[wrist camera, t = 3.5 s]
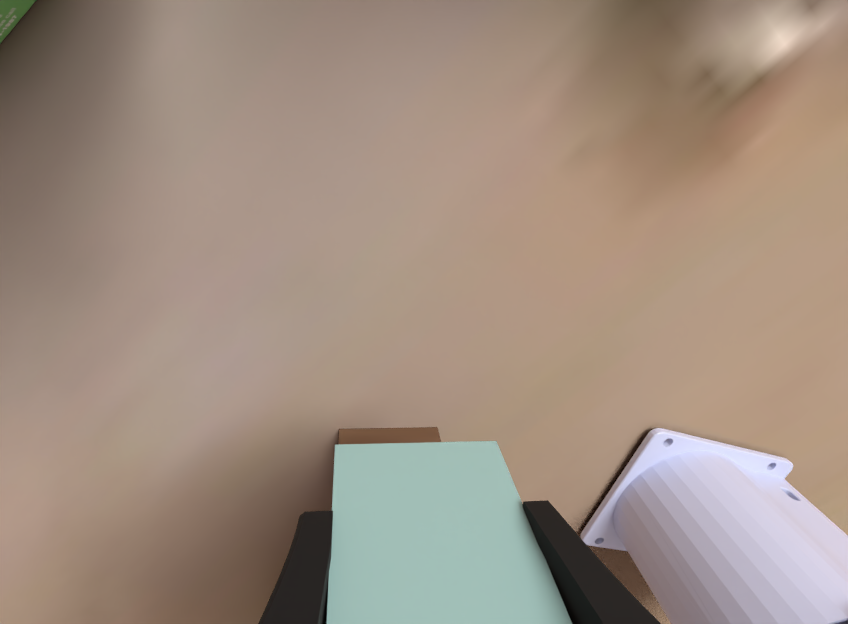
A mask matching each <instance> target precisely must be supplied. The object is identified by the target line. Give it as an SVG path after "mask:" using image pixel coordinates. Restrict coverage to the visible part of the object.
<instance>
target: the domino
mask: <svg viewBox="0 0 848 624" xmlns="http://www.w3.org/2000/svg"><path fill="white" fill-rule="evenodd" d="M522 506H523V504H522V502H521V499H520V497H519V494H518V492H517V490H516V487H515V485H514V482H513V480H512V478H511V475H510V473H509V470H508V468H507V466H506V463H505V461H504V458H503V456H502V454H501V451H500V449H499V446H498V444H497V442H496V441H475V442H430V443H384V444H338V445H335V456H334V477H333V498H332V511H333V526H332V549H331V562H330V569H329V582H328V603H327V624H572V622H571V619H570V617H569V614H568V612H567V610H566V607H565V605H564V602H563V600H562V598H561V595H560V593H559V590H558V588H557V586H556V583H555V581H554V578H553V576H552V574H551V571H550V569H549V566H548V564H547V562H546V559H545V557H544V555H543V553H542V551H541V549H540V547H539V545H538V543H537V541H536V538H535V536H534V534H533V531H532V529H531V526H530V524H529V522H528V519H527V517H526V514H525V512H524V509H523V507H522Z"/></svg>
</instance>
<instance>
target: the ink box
mask: <svg viewBox="0 0 848 624" xmlns="http://www.w3.org/2000/svg"><path fill="white" fill-rule="evenodd" d="M35 1H36V0H0V44H1V42H2V41H3V39H4V38H5V37H6V36H7V35H8V34H9V33H10V32H11V30H12V29H13V28H14V27H15V25H16V24H17V23H18V22H19V20H20V19H21V18H22V17H23V16H24V15H25V13H26V12H27V11H28V10H29V9H30V8H31V6H32V5H33V3H34V2H35Z"/></svg>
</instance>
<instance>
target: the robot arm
mask: <svg viewBox="0 0 848 624" xmlns="http://www.w3.org/2000/svg"><path fill="white" fill-rule="evenodd" d="M792 469H793V464H792V463H791V462H790V461H789V460H788V459H786V458H783V457H779V456H775V455H770V454H766V453H762V452H758V451H754V450H750V449H745V448H741V447H737V446H733V445H729V444H725V443H721V442H716V441H712V440H708V439H704V438H700V437H696V436H692V435H687V434H683V433H679V432H675V431H671V430H667V429H663V428H655V429H653V430H651V431H650V432H649V433H648V434H647V436H646V437H645V439H644V440H643V442H642V443H641V445H640V446H639V448H638V449H637V451H636V452H635V454H634V455H633V456H632V458H631V459H630V461H629V462H628V464H627V465H626V467H625V468H624V470H623V471H622V473H621V474H620V476H619V477H618V479H617V480H616V482H615V483H614V485H613V486H612V488H611V489H610V491H609V492H608V494H607V495H606V497H605V498H604V500H603V501H602V503H601V504H600V506H599V507H598V509H597V510H596V512H595V513H594V515H593V516H592V518H591V519H590V521H589V522H588V524H587V525H586V527H585V528H584V530H583V531H582V533H581V535H580V537H579V536H578V535H577V533H576V532H575V531H574V530H573V529H572V528H571V527H570V525H569V524H568V523H567V522H566V521H565V520H564V518H563V517H562V516H561V515H560V514H559V513H558V512H557V510H556V509H555V508H554V507H553V506H552V505H551V504H550V502H549V501H528V502H523V506H522V507H523V509H524V512H525V514H526V517H527V519H528V522H529V524H530V526H531V529H532V531H533V534H534V536H535V538H536V541H537V543H538V545H539V547H540V549H541V551H542V553H543V555H544V557H545V559H546V562H547V564H548V566H549V569H550V571H551V574H552V576H553V578H554V581H555V583H556V586H557V588H558V590H559V593H560V595H561V598H562V600H563V602H564V605H565V607H566V610H567V612H568V614H569V617H570V619H571V622H572V624H661V623H660V622H659V621H658V620H657V619H656V618H655V617H654V616H653V615H652V614H651V613H650V612H649V611H648V610H647V609H646V608H645V607H643V605H642V604H641V603H640V602H639V601H638V600H637V599H636V598H635V597H634V596H633V595H632V594H631V593H630V592H629V591H628V590H627V589H626V588H625V587H624V586H623V585H622V583H621V582H620V581H619V580H618V579H617V578H616V577H615V576H614V575H613V574H612V573H611V572H610V570H609V569H608V568H607V567H606V566H605V565H604V564H603V563H602V562H601V561H600V560H599V558H598V557H597V556H596V555H595V554H594V553H593V552H592V551H591V549H590V548H589V547H588V546H595V547H602V548H609V549H615V550H622V551H628V553H629V555H630V556H631V558H632V559H633V561H634V563H635V564H636V566H637V568H638V569H639V571H640V573H641V574H642V576H643V578H644V579H645V581H646V583H647V584H648V586H649V588H650V589H651V591H652V593H653V594H654V596H655V598H656V599H657V601H658V603H659V604H660V606H661V608H662V609H663V611H664V613H665V614H666V616H667V618H668V619H669V621H670V623H671V624H848V535H846V534H845V533H844V532H843V531H842V530H841V529H840V528H839V527H837V526H836V525H835V524H834V523H833V522H832V521H831V520H830V519H828V518H827V517H826V516H825V515H824V514H823V513H822V512H821V511H819V510H818V509H817V508H816V507H815V506H814V505H813V504H812V503H810V502H809V501H808V500H807V499H806V498H805V497H804V496H803V495H802V494H800V493H799V492H798V491H797V490H796V489H795V488H794V487H793V486H791V485H790V484H789V483H788V482H787V481H786V480H785V478H786V476H787V475H788V474H789V473H790V472H791V470H792ZM332 526H333V511H315V512H304V513H303V514H302V515H300V517H299V521H298V526H297V529H296V533H295V536H294V539H293V542H292V545H291V548H290V551H289V554H288V556H287V559H286V561H285V564H284V566H283V569H282V572H281V574H280V577H279V579H278V581H277V583H276V586H275V588H274V590H273V593H272V595H271V597H270V599H269V602H268V604H267V606H266V609H265V611H264V613H263V615H262V617H261V619H260V621H259V623H258V624H327V603H328V582H329V569H330V562H331V549H332ZM587 545H588V546H587Z"/></svg>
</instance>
